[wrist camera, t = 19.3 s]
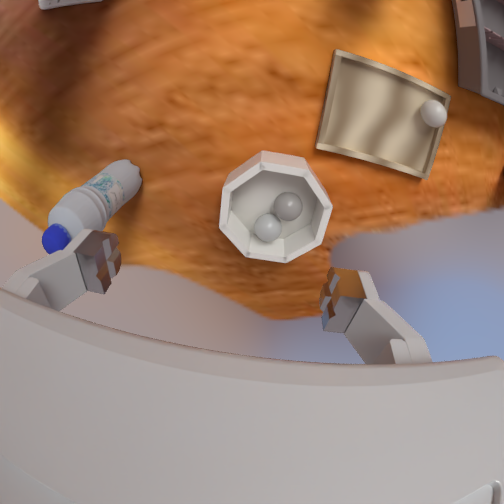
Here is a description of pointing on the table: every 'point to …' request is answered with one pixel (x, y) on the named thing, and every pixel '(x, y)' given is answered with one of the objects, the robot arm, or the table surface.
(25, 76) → the table surface
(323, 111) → the oak tray
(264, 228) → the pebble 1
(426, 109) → the white ball
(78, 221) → the bottle
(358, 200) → the table surface
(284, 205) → the grey ball
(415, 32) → the table surface
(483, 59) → the organizer tray
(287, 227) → the ceramic bowl
